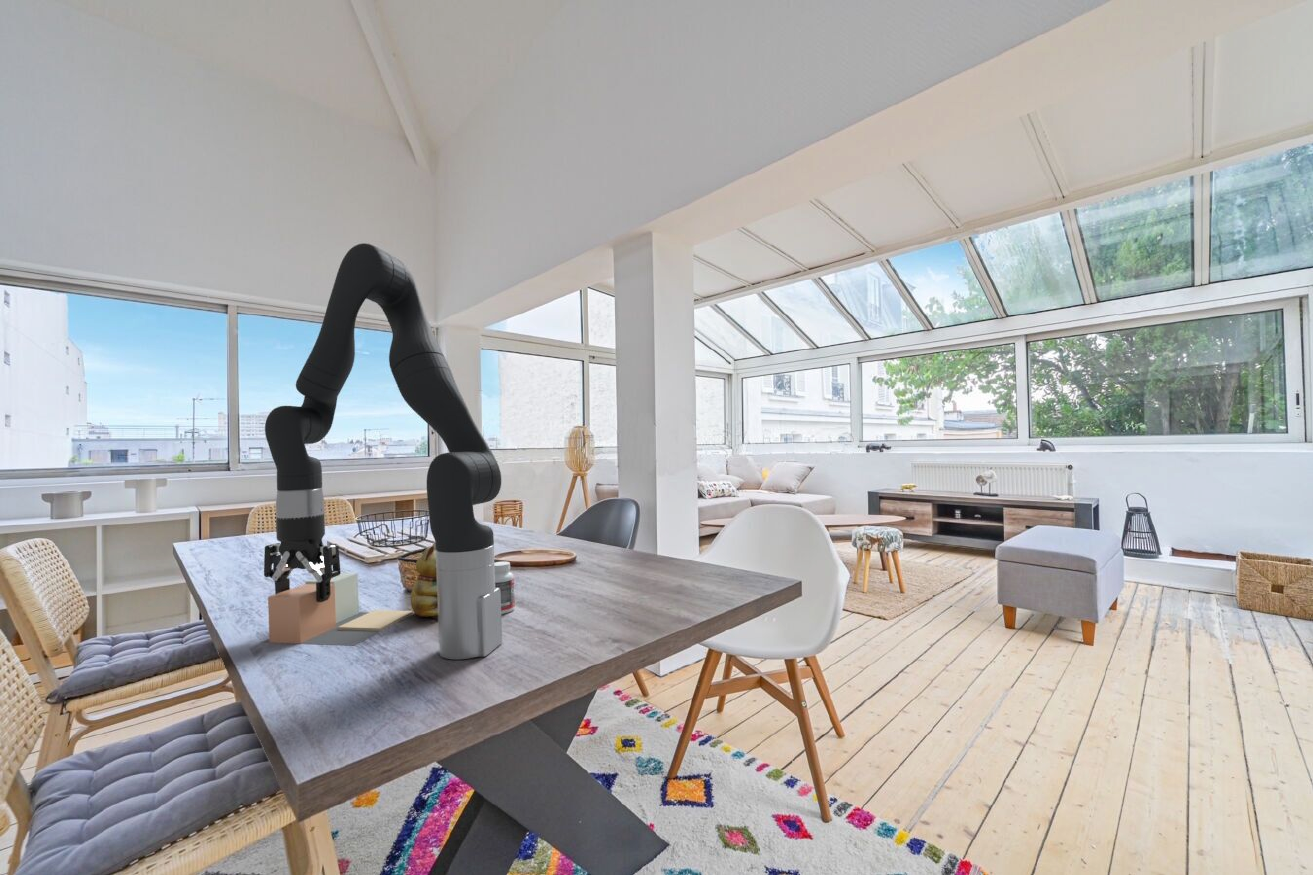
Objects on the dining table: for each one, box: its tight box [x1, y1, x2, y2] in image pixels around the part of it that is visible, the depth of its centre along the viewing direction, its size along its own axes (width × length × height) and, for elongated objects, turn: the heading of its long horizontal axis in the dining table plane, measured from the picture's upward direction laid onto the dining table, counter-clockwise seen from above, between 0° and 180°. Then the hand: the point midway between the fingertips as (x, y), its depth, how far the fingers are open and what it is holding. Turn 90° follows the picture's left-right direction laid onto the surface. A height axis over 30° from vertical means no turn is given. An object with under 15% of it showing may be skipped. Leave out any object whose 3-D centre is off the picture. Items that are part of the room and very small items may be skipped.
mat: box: [260, 609, 416, 647], centre depth 102 cm, size 19×17×1 cm
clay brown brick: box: [267, 583, 336, 644], centre depth 99 cm, size 6×8×8 cm
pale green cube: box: [305, 572, 360, 623], centre depth 108 cm, size 6×6×8 cm
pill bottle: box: [494, 561, 516, 615], centre depth 110 cm, size 5×5×10 cm
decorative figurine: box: [410, 543, 438, 620], centre depth 109 cm, size 10×8×15 cm
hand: (302, 600), depth 99 cm, fingers open, 8 cm apart
